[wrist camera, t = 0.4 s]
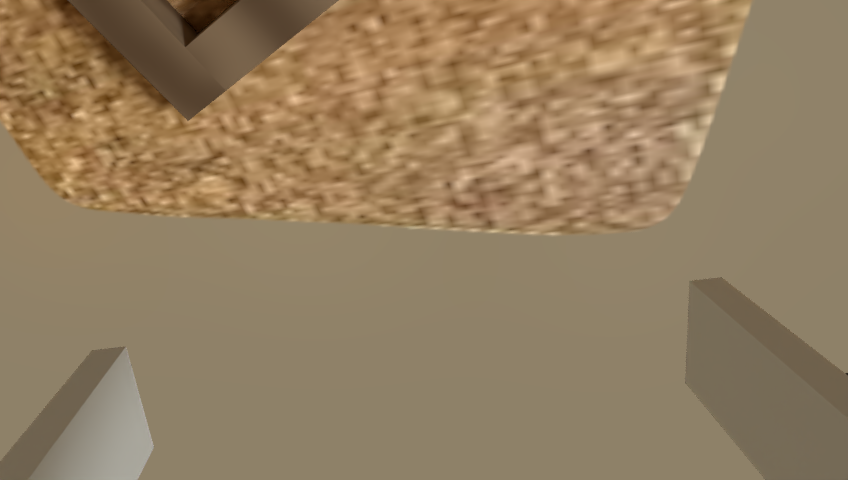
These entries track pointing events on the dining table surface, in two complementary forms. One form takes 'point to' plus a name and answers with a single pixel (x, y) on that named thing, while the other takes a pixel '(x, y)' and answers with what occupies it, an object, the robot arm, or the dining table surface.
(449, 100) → the dining table surface
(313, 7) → the stand
